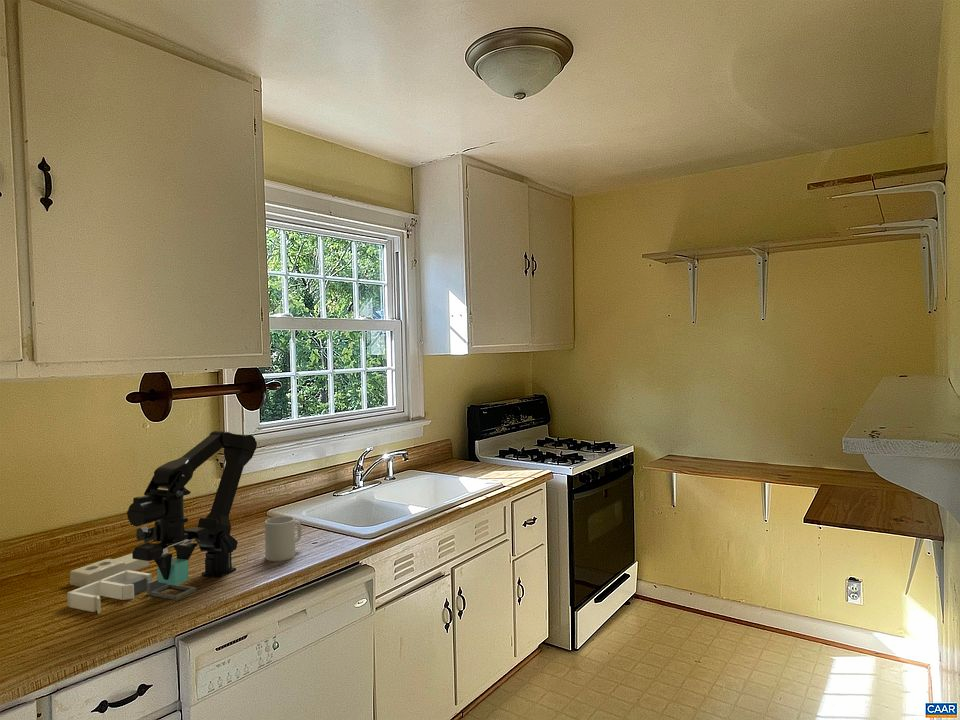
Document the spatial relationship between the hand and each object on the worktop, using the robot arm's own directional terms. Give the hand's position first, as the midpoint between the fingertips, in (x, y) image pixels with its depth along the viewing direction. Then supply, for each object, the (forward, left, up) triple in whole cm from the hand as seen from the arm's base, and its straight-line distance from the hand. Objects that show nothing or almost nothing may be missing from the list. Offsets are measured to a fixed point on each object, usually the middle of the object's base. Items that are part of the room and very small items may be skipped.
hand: (173, 576), depth 156 cm
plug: (0, 0, -1) cm, 1 cm away
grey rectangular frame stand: (0, 0, -4) cm, 4 cm away
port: (+7, -13, -4) cm, 15 cm away
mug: (-33, +8, -5) cm, 34 cm away
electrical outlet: (-4, -28, -5) cm, 29 cm away
